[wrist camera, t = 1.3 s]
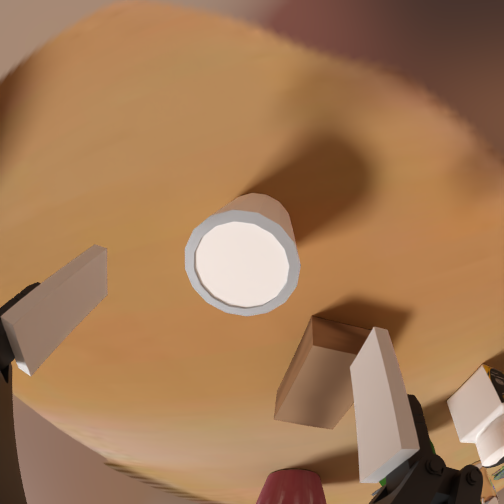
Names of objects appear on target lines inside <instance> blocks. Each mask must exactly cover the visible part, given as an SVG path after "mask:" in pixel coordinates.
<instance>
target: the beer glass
mask: <svg viewBox="0 0 504 504" xmlns="http://www.w3.org/2000/svg"><path fill="white" fill-rule="evenodd" d="M471 465H475V466H476V467H478V468H479V469H480V471H481V472H482V475H483V488H482V495H481V501H480V504H499V501H498V497H497V493H496V490H495V488H494V486H493V484H492V482H491V480H490V478H489V476H488V473H487V468H485V467H483V466H482V463H481V460H480V461H477V462H475V463H473V464H471Z"/></svg>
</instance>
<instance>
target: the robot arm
mask: <svg viewBox="0 0 504 504" xmlns="http://www.w3.org/2000/svg"><path fill="white" fill-rule="evenodd" d="M106 296H107V248H104V247H101V246H98V245H93V246H92V247H90V248H89V249H88V250H86V251H85V252H83V253H82V254H80V255H79V256H78V257H76V258H75V259H73V260H72V261H71V262H69V263H68V264H66V265H65V266H64V267H62V268H61V269H60V270H58V271H57V272H56V273H54V274H53V275H52V276H50V277H49V278H48V279H46V280H45V281H44V282H42V283H39V282H37V283H34V284H32V285H29V286H27V287H26V288H25V289H23V290H22V291H21V292H20V294H19V293H18V294H17V295H16V296H15V297H14V298H12V299H11V300H9V301H8V302H7V303H6V304H5V305H3V306H2V307H1V308H0V504H27V502H26V497H25V493H24V489H23V484H22V479H21V474H20V469H19V463H18V456H17V449H16V441H15V431H14V419H13V401H12V365H11V362H12V361H13V360H14V358H15V360H16V362H17V365H18V367H19V368H20V369H21V370H22V371H24V372H25V373H27V374H28V375H30V376H32V375H33V374H34V372H35V371H36V370H37V369H38V368H39V367H40V366H41V364H42V363H43V362H44V361H45V360H46V359H47V358H48V357H49V355H50V354H51V353H52V352H53V351H54V350H55V349H56V348H57V347H58V346H59V344H60V343H61V342H62V341H63V340H64V339H65V338H66V337H67V336H68V335H69V334H70V333H71V332H72V331H73V329H74V328H75V327H76V326H77V325H78V324H79V323H80V322H81V321H82V320H83V319H84V318H85V317H86V316H87V315H88V314H89V313H90V312H91V311H92V310H93V309H94V308H95V307H96V306H97V305H98V304H99V303H100V302H101V301H102V300H103V299H104V298H105V297H106ZM350 371H351V379H352V388H353V397H354V407H355V417H356V428H357V441H358V456H359V475H360V483H378V482H379V481H380V480H382V479H383V478H385V477H386V484H385V485H384V486H383V487H381V488H380V489H378V490H377V491H375V492H374V493H373V494H371V495H373V496H374V495H375V494H376V495H375V497H374V498H373V499H372V500H371V501H370V503H369V504H480V501H481V495H482V488H483V475H482V472H481V471H480V469H479V468H478V467H476V466H475V465H467V466H465V467H464V468H462V469H461V470H460V471H459V470H456V469H452V468H449V467H446V465H445V463H444V461H443V459H442V458H441V457H440V456H438V455H436V454H434V453H433V451H432V447H431V443H430V439H429V435H428V431H427V427H426V424H425V419H424V416H423V412H422V408H421V404H420V403H419V401H418V400H417V398H416V397H415V396H414V395H409V394H407V393H406V389H405V385H404V382H403V378H402V375H401V371H400V368H399V364H398V361H397V358H396V355H395V351H394V348H393V345H392V342H391V339H390V336H389V333H388V330H387V329H382V328H378V327H373V329H372V331H371V332H370V334H369V336H368V338H367V339H366V341H365V343H364V345H363V346H362V348H361V350H360V351H359V353H358V355H357V356H356V358H355V360H354V361H353V363H352V365H351V366H350Z"/></svg>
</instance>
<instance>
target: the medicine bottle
mask: <svg viewBox="0 0 504 504" xmlns="http://www.w3.org/2000/svg"><path fill="white" fill-rule="evenodd" d="M447 404H448V407H449V410H450V413H451V416H452V418H453V421H454V424H455V427H456V430H457V434H458V437H459V440H460V442H465V443H476V447H477V450H478V453H479V457H480V460H481V463H482V466H483V467H485V468H491V467H495V466H498V465H500V464H502V463H504V372H502V371H500V370H497V369H495V368H492V367H490V366H487V365H485V364H482V365H481V366H480V367H479V368H478V369H477V370H476V371H475V373H474V374H473V375H472V376H471V377H470V378H469V379H468V380H467V381H466V382H465V383H464V384H463V385H462V386H461V387H460V388H459V389H458V390H457V391H456V392H455V393H454V394H453V395H452V396H451V397H450V398H449V399H448V400H447Z"/></svg>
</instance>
